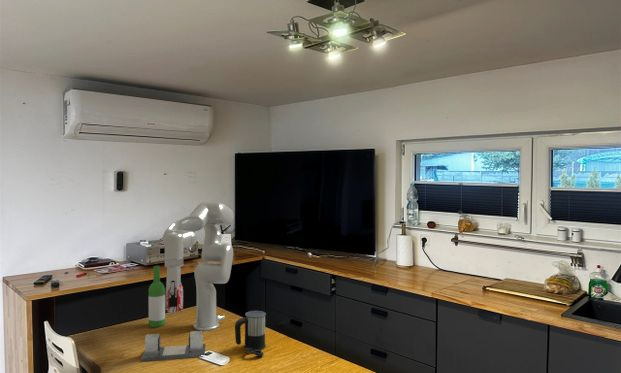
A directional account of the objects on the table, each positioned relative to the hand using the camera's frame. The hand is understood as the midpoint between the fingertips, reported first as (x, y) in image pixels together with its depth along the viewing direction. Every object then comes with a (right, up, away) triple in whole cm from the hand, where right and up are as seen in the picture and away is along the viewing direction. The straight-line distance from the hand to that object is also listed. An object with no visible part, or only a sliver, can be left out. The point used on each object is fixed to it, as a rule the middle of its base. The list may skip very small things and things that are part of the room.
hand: (174, 303), depth 180 cm
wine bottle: (-20, -21, +35) cm, 45 cm away
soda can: (0, -4, 0) cm, 4 cm away
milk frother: (+34, -22, +5) cm, 40 cm away
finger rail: (0, -22, +1) cm, 22 cm away
